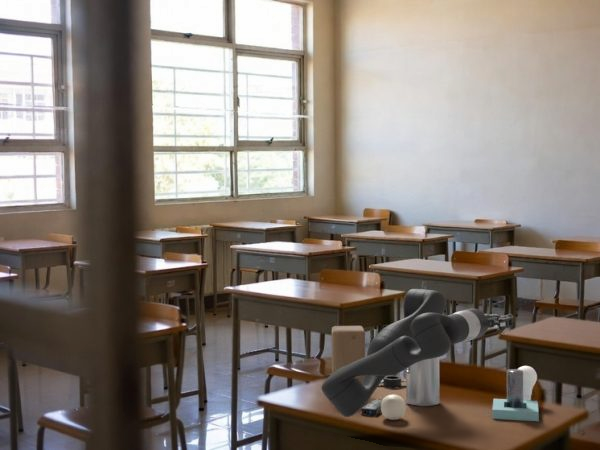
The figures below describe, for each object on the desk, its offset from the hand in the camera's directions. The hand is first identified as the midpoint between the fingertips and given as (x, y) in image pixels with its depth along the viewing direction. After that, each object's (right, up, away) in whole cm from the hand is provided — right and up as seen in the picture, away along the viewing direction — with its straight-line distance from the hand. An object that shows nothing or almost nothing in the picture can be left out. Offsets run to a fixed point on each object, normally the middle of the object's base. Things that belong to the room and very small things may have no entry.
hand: (496, 316), depth 209 cm
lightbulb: (+14, -28, +21) cm, 37 cm away
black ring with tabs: (-22, -28, +45) cm, 57 cm away
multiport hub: (-31, -29, +16) cm, 45 cm away
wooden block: (-37, -28, +38) cm, 59 cm away
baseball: (-26, -29, +7) cm, 40 cm away
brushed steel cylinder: (+8, -28, +10) cm, 31 cm away
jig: (+8, -28, +10) cm, 31 cm away
